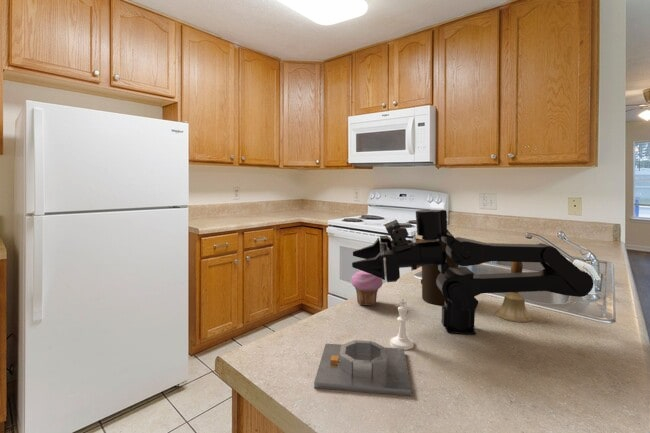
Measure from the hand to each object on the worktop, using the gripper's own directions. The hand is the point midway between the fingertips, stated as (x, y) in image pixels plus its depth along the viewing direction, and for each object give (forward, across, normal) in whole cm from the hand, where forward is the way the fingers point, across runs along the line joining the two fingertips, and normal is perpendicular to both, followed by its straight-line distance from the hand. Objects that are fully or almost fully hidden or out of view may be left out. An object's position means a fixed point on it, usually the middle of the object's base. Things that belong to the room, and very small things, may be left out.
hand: (352, 259), depth 82 cm
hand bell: (-40, -8, +21) cm, 46 cm away
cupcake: (-2, -14, +18) cm, 23 cm away
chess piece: (-9, +11, +17) cm, 22 cm away
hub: (-1, +21, +15) cm, 26 cm away
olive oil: (-23, -19, +20) cm, 36 cm away
